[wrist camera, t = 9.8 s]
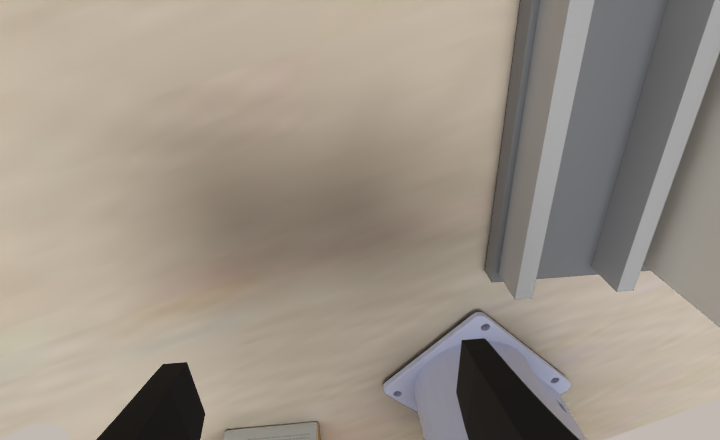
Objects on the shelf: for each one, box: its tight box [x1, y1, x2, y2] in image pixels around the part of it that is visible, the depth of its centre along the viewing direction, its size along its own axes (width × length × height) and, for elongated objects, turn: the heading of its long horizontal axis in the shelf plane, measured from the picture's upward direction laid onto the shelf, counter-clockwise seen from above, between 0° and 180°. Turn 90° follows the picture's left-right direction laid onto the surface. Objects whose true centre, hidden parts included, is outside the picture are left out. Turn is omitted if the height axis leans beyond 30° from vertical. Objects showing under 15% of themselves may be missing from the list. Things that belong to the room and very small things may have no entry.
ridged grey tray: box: [485, 0, 720, 300], centre depth 16 cm, size 15×11×3 cm
